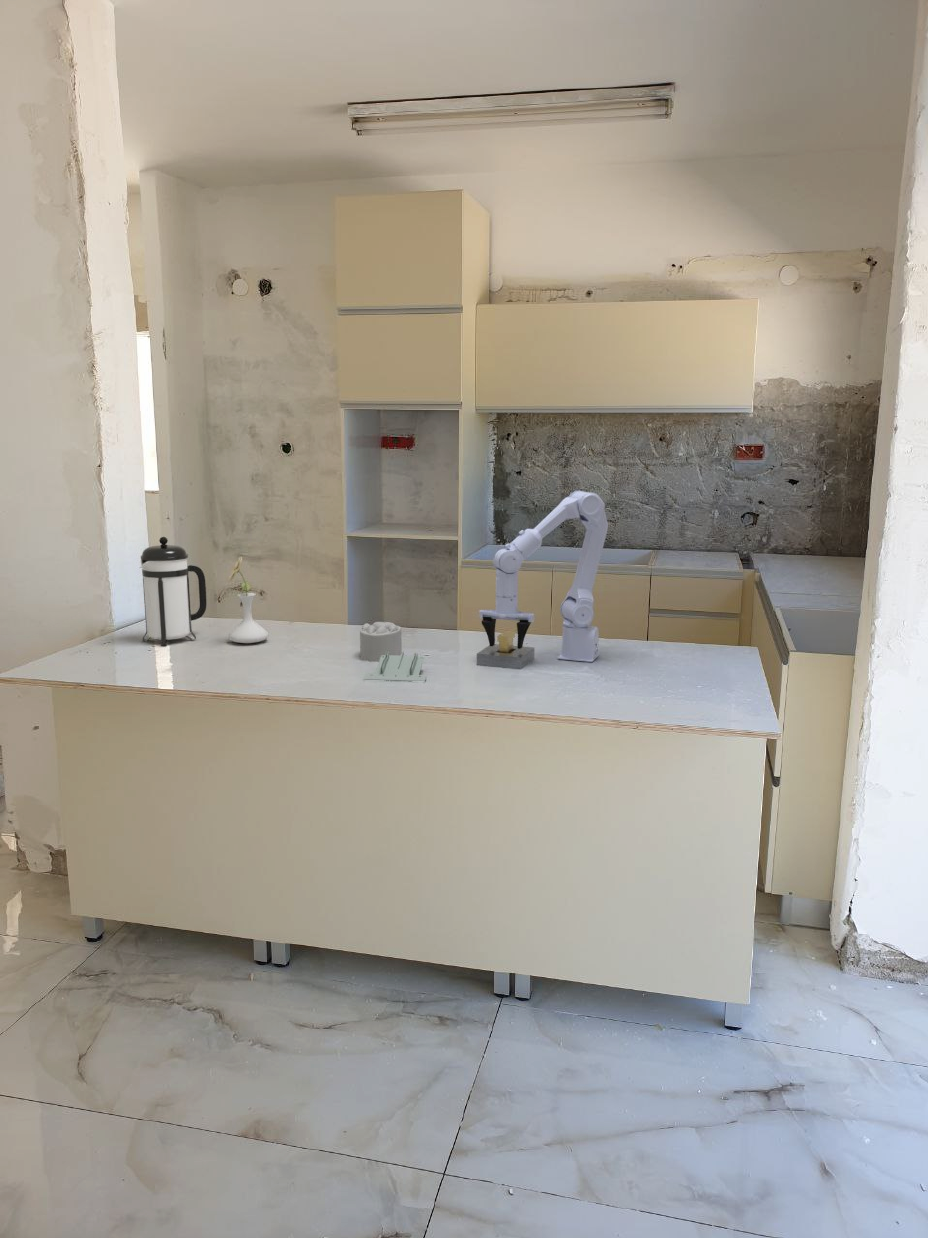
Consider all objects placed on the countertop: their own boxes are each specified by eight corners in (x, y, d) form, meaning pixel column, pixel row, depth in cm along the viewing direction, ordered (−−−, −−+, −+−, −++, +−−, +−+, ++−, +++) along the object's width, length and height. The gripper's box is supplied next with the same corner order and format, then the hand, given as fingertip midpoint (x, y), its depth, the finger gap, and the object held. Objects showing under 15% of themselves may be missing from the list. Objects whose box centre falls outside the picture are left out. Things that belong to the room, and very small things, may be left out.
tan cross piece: (514, 659, 246) (514, 631, 245) (506, 665, 240) (506, 636, 239) (505, 658, 247) (506, 630, 246) (497, 664, 241) (497, 636, 239)
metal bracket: (373, 647, 236) (432, 648, 234) (375, 666, 238) (433, 668, 237) (362, 676, 223) (423, 678, 221) (364, 696, 226) (425, 698, 224)
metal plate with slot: (534, 658, 247) (534, 647, 246) (520, 669, 236) (521, 657, 235) (491, 654, 251) (491, 643, 250) (476, 664, 240) (476, 653, 239)
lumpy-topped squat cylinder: (404, 651, 255) (404, 620, 253) (392, 662, 243) (391, 630, 241) (368, 649, 257) (368, 618, 255) (354, 660, 245) (353, 628, 243)
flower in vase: (237, 636, 272) (233, 552, 267) (274, 638, 271) (271, 553, 266) (219, 646, 260) (215, 558, 255) (258, 648, 258) (255, 559, 253)
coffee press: (191, 646, 259) (185, 539, 254) (134, 646, 260) (127, 539, 254) (208, 633, 276) (203, 533, 271) (155, 633, 277) (149, 533, 271)
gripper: (475, 596, 239) (474, 647, 242) (529, 600, 234) (528, 652, 237) (484, 592, 245) (483, 642, 248) (536, 595, 240) (535, 646, 243)
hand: (506, 646), depth 243 cm, fingers open, 7 cm apart
